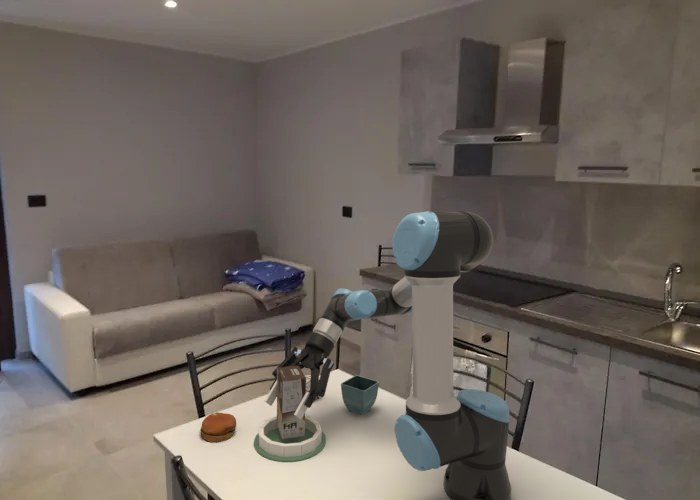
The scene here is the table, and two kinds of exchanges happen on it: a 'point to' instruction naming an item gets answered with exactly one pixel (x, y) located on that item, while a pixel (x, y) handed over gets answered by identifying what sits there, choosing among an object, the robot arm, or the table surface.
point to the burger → (218, 427)
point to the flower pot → (359, 393)
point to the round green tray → (289, 442)
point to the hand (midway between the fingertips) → (282, 410)
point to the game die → (308, 383)
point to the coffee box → (290, 401)
